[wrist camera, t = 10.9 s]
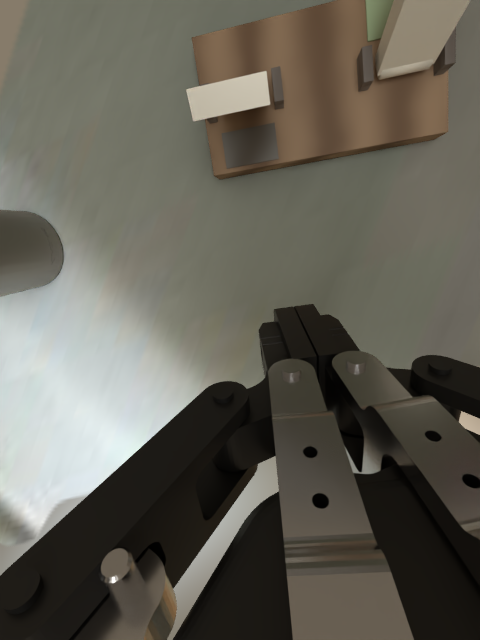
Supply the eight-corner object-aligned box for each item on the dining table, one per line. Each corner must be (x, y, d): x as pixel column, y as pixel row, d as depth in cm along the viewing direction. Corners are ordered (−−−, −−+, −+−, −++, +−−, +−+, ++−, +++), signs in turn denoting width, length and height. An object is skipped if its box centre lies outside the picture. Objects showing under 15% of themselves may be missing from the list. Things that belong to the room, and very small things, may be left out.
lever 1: (221, 113, 33) (194, 125, 20) (217, 89, 32) (185, 85, 19) (269, 103, 32) (270, 108, 20) (266, 77, 31) (265, 66, 18)
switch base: (219, 179, 37) (209, 172, 32) (199, 53, 34) (185, 24, 29) (434, 139, 34) (460, 124, 29) (432, -5, 31) (461, -49, 26)
